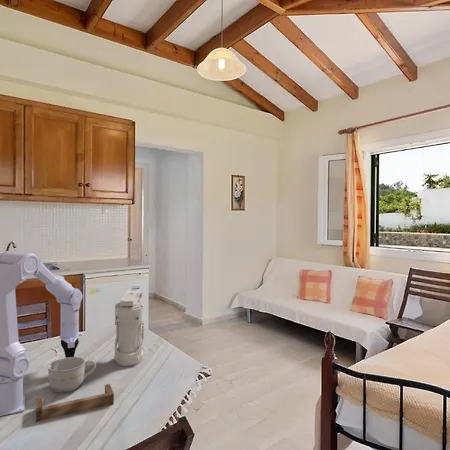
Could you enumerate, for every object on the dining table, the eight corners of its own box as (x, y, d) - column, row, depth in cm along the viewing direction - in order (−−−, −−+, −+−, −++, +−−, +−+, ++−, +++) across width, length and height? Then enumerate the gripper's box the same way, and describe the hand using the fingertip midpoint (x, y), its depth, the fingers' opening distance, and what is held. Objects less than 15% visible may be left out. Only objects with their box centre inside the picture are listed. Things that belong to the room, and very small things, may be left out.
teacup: (44, 398, 105) (44, 372, 105) (51, 381, 116) (51, 357, 115) (94, 392, 109) (94, 367, 109) (96, 376, 120) (96, 353, 119)
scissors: (81, 344, 145) (62, 365, 125) (81, 346, 145) (62, 368, 126) (54, 344, 145) (31, 366, 125) (54, 346, 145) (31, 368, 125)
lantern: (139, 366, 127) (140, 298, 126) (110, 366, 127) (111, 297, 126) (147, 351, 140) (148, 289, 139) (121, 351, 140) (121, 288, 139)
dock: (36, 422, 94) (35, 411, 94) (36, 409, 100) (36, 398, 100) (113, 404, 103) (113, 394, 103) (109, 393, 109) (109, 383, 109)
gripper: (84, 327, 118) (84, 367, 118) (80, 314, 130) (80, 350, 131) (60, 330, 114) (61, 371, 115) (58, 316, 127) (59, 353, 128)
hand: (69, 360), depth 123 cm, fingers closed
